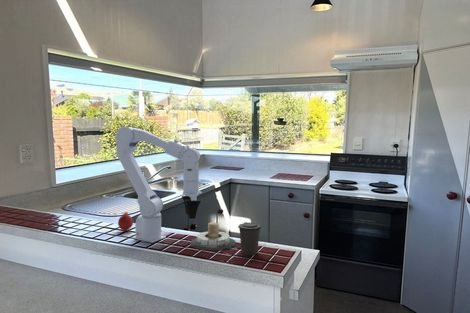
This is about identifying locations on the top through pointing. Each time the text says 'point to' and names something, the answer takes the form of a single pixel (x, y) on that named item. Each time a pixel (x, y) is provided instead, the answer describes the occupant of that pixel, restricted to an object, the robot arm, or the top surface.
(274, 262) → the top surface
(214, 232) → the peg
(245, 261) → the top surface
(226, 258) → the top surface
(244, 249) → the coffee cup
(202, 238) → the rosette
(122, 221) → the onion
